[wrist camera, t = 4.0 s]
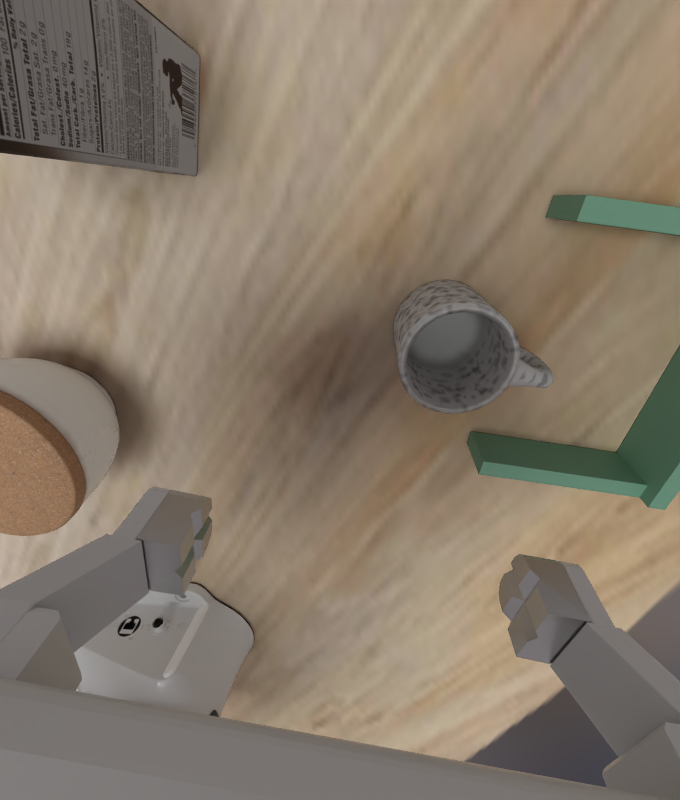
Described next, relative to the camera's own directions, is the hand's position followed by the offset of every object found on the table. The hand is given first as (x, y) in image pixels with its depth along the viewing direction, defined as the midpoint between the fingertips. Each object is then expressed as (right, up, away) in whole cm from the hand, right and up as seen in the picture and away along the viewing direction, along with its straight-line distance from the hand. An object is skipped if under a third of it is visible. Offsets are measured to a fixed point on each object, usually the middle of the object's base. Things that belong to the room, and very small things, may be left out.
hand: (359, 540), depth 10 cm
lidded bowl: (-24, +3, +23) cm, 33 cm away
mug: (+8, +9, +17) cm, 21 cm away
